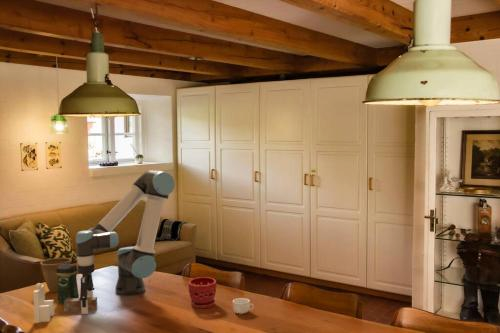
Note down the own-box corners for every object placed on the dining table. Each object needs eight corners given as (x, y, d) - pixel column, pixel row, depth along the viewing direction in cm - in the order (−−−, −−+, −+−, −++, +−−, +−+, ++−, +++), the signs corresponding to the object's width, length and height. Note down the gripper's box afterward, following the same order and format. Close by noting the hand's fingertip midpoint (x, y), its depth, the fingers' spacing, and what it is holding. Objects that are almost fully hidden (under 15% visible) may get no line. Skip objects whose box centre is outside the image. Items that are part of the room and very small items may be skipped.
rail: (97, 307, 241) (96, 296, 241) (95, 310, 237) (95, 299, 237) (66, 309, 240) (66, 298, 239) (64, 312, 235) (63, 301, 235)
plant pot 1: (77, 288, 271) (76, 259, 270) (54, 296, 259) (52, 265, 257) (60, 284, 279) (58, 256, 278) (36, 292, 267) (34, 262, 265)
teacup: (230, 314, 228) (230, 302, 228) (236, 308, 235) (236, 297, 235) (251, 316, 224) (250, 304, 224) (256, 310, 232) (256, 299, 231)
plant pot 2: (183, 306, 240) (182, 281, 239) (204, 299, 250) (203, 275, 249) (201, 312, 231) (201, 286, 230) (222, 304, 241) (221, 280, 240)
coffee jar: (81, 298, 254) (79, 262, 253) (72, 304, 246) (71, 266, 245) (64, 298, 256) (62, 261, 255) (55, 303, 248) (53, 266, 247)
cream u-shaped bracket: (54, 314, 233) (53, 279, 232) (49, 322, 223) (47, 285, 222) (40, 315, 232) (38, 280, 231) (34, 323, 222) (32, 286, 221)
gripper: (82, 258, 249) (84, 300, 250) (71, 271, 225) (73, 318, 226) (98, 257, 250) (100, 299, 251) (89, 270, 226) (91, 317, 227)
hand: (87, 308), depth 239 cm, fingers open, 12 cm apart
